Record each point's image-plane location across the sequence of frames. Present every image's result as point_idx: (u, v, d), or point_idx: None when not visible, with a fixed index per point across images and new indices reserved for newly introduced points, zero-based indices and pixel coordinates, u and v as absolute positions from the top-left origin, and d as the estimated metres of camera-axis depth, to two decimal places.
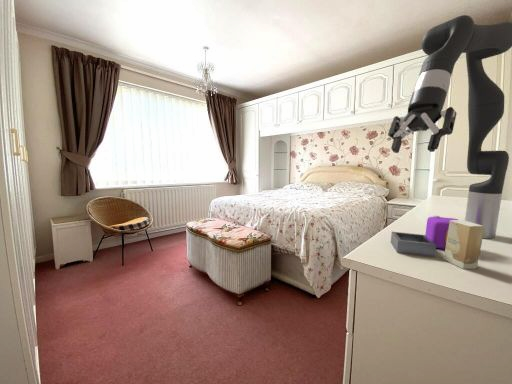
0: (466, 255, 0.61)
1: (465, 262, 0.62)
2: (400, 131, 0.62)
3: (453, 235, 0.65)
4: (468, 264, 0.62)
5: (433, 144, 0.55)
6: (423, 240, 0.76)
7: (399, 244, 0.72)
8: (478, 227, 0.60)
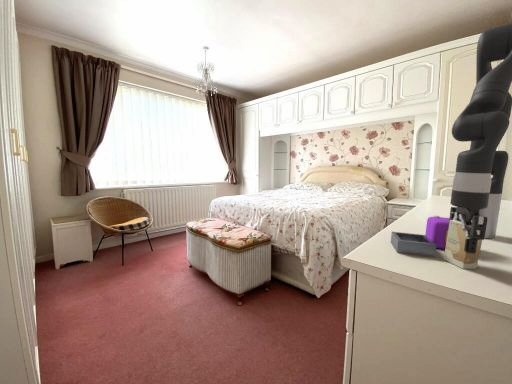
0: (466, 255, 0.61)
1: (465, 262, 0.62)
2: None
3: (453, 235, 0.65)
4: (468, 264, 0.62)
5: (468, 248, 0.60)
6: (423, 240, 0.76)
7: (399, 244, 0.72)
8: None
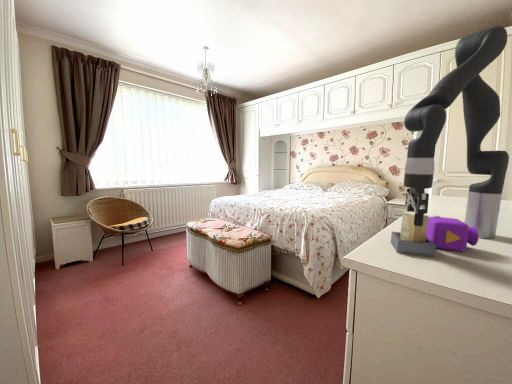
0: None
1: None
2: (407, 203, 0.78)
3: (405, 224, 0.75)
4: None
5: (416, 221, 0.70)
6: None
7: (399, 244, 0.72)
8: (423, 217, 0.71)
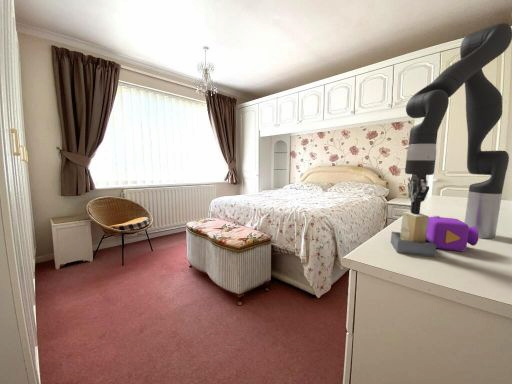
0: None
1: None
2: (411, 195, 0.74)
3: (405, 224, 0.75)
4: None
5: (413, 209, 0.73)
6: None
7: (399, 244, 0.72)
8: (423, 217, 0.71)
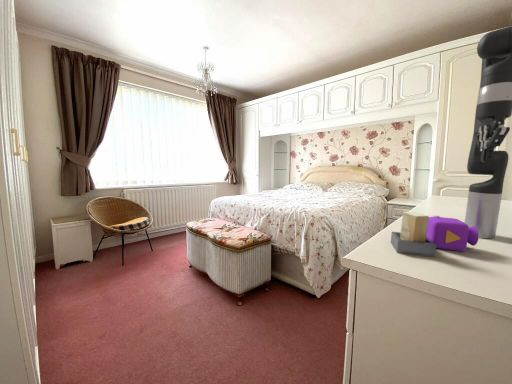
0: None
1: None
2: (482, 142, 0.70)
3: (405, 224, 0.75)
4: None
5: (485, 157, 0.69)
6: None
7: (399, 244, 0.72)
8: (423, 217, 0.71)
